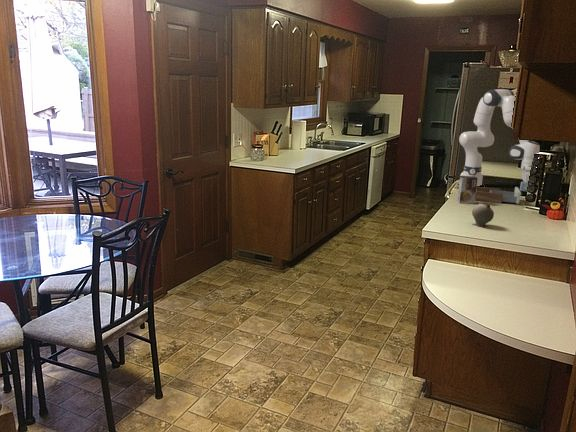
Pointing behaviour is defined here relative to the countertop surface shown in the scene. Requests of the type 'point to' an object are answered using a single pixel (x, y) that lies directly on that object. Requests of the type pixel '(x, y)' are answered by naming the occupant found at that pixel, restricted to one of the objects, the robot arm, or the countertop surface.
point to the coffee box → (467, 189)
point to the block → (522, 186)
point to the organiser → (488, 195)
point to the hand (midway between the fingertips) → (524, 187)
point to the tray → (509, 195)
